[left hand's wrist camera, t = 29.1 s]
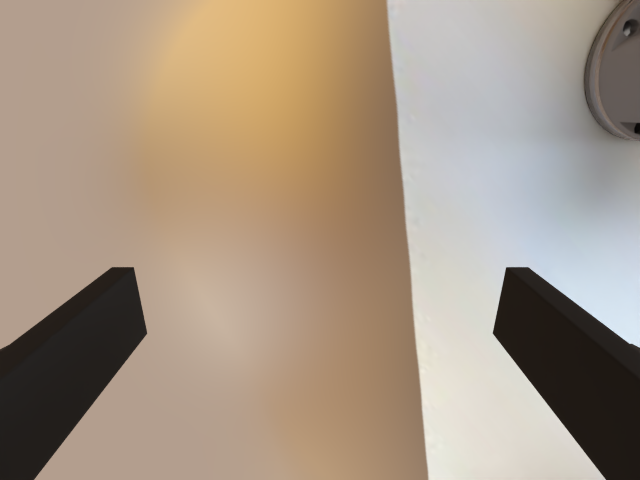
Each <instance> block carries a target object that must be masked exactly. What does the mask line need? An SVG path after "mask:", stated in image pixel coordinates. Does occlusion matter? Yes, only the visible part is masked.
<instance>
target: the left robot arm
mask: <svg viewBox="0 0 640 480" xmlns="http://www.w3.org/2000/svg"><path fill="white" fill-rule="evenodd" d="M585 91H586V97H587V102H588V105H589V108H590V110H591V112H592V114H593V116H594V117H595V119H596V120H597V121H598V123H599V124H600V125H601V126H602V127H603V128H604V129H606V130H607V131H608V132H610V133H612V134H614V135H615V136H618V137H621V138H624V139H628V140H636V141H640V0H623V1H622V2H621V3H620V4H619V5H618V6H617V7H616V9H615V10H614V11H613V12H612V13H611V15H610V16H609V17H608V19H607V20H606V21H605V23H604V25H603V26H602V28H601V29H600V31H599V33H598V35H597V37H596V39H595V41H594V43H593V46H592V49H591V51H590V54H589V58H588V62H587V67H586V74H585ZM146 334H147V330H146V325H145V321H144V315H143V310H142V306H141V301H140V296H139V291H138V286H137V281H136V276H135V271H134V267H112V268H110V269H109V270H108V271H106V272H105V273H104V274H102V275H101V276H100V277H99V278H97V279H96V280H95V281H93V282H92V283H91V284H89V285H88V286H87V287H85V288H84V289H83V290H81V291H80V292H79V293H77V294H76V295H75V296H73V297H72V298H71V299H69V300H68V301H67V302H65V303H64V304H63V305H62V306H60V307H59V308H57V309H56V310H55V311H53V312H52V313H51V314H50V315H48V316H47V317H46V318H44V319H43V320H42V321H40V322H39V323H38V324H36V325H35V326H34V327H32V328H31V329H30V330H28V331H27V332H26V333H24V334H23V335H22V336H20V337H19V338H18V339H16V340H15V341H14V342H13V343H11V344H10V345H8V346H6V347H4V348H2V349H0V480H34V479H35V478H36V476H37V475H38V474H39V472H40V471H41V470H42V469H43V467H44V466H45V465H46V463H47V462H48V461H49V459H50V458H51V457H52V456H53V454H54V453H55V452H56V451H57V449H58V448H59V447H60V445H61V444H62V443H63V441H64V440H65V439H66V438H67V436H68V435H69V434H70V432H71V431H72V430H73V429H74V427H75V426H76V425H77V423H78V422H79V421H80V420H81V418H82V417H83V416H84V414H85V413H86V412H87V410H88V409H89V408H90V407H91V405H92V404H93V403H94V401H95V400H96V399H97V398H98V396H99V395H100V394H101V392H102V391H103V390H104V388H105V387H106V386H107V385H108V383H109V382H110V381H111V379H112V378H113V377H114V376H115V374H116V373H117V372H118V370H119V369H120V368H121V367H122V365H123V364H124V363H125V361H126V360H127V359H128V358H129V356H130V355H131V354H132V352H133V351H134V350H135V349H136V347H137V346H138V345H139V343H140V342H141V341H142V339H143V338H144V337H145V336H146ZM493 334H494V336H495V337H496V338H497V339H498V341H499V342H500V343H501V345H502V346H503V347H504V349H505V350H506V351H507V352H508V354H509V355H510V356H511V358H512V359H513V360H514V361H515V363H516V364H517V365H518V367H519V368H520V369H521V370H522V372H523V373H524V374H525V376H526V377H527V378H528V380H529V381H530V382H531V383H532V385H533V386H534V387H535V389H536V390H537V391H538V392H539V394H540V395H541V396H542V398H543V399H544V400H545V401H546V403H547V404H548V405H549V407H550V408H551V409H552V411H553V412H554V413H555V414H556V416H557V417H558V418H559V420H560V421H561V422H562V423H563V425H564V426H565V427H566V429H567V430H568V431H569V432H570V434H571V435H572V436H573V438H574V439H575V440H576V441H577V443H578V444H579V445H580V447H581V448H582V449H583V451H584V452H585V453H586V454H587V456H588V457H589V458H590V460H591V461H592V462H593V463H594V465H595V466H596V467H597V469H598V470H599V471H600V472H601V474H602V475H603V476H604V478H605V479H606V480H640V348H639V347H637V346H635V345H633V344H629V343H628V342H626V341H625V340H624V339H622V338H621V337H620V336H618V335H617V334H616V333H614V332H613V331H612V330H610V329H609V328H608V327H606V326H605V325H604V324H602V323H601V322H600V321H598V320H597V319H596V318H594V317H593V316H592V315H590V314H589V313H588V312H587V311H585V310H584V309H583V308H581V307H580V306H579V305H577V304H576V303H575V302H573V301H572V300H571V299H569V298H568V297H567V296H565V295H564V294H563V293H561V292H560V291H559V290H557V289H556V288H555V287H553V286H552V285H551V284H549V283H548V282H547V281H545V280H544V279H543V278H541V277H540V276H539V275H538V274H536V273H535V272H534V271H532V270H531V269H530V268H528V267H506V271H505V276H504V281H503V286H502V291H501V296H500V301H499V306H498V310H497V315H496V320H495V325H494V330H493Z"/></svg>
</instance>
